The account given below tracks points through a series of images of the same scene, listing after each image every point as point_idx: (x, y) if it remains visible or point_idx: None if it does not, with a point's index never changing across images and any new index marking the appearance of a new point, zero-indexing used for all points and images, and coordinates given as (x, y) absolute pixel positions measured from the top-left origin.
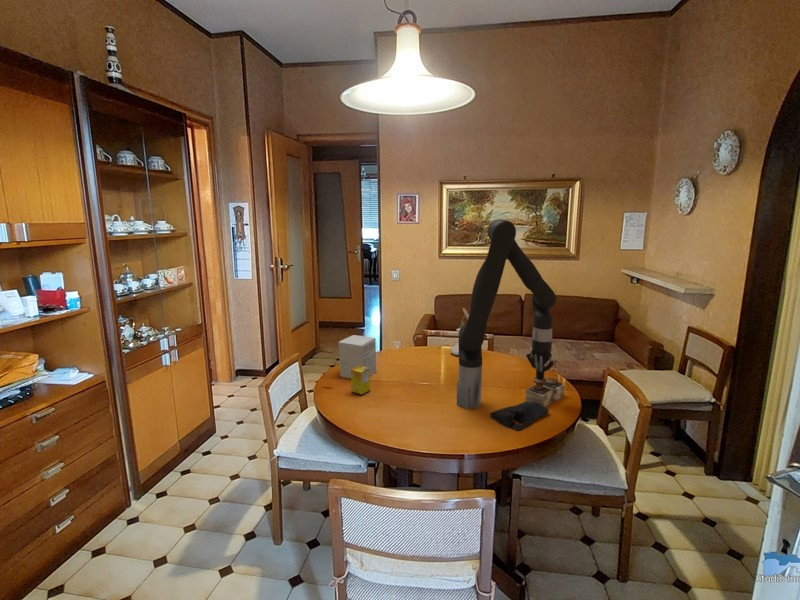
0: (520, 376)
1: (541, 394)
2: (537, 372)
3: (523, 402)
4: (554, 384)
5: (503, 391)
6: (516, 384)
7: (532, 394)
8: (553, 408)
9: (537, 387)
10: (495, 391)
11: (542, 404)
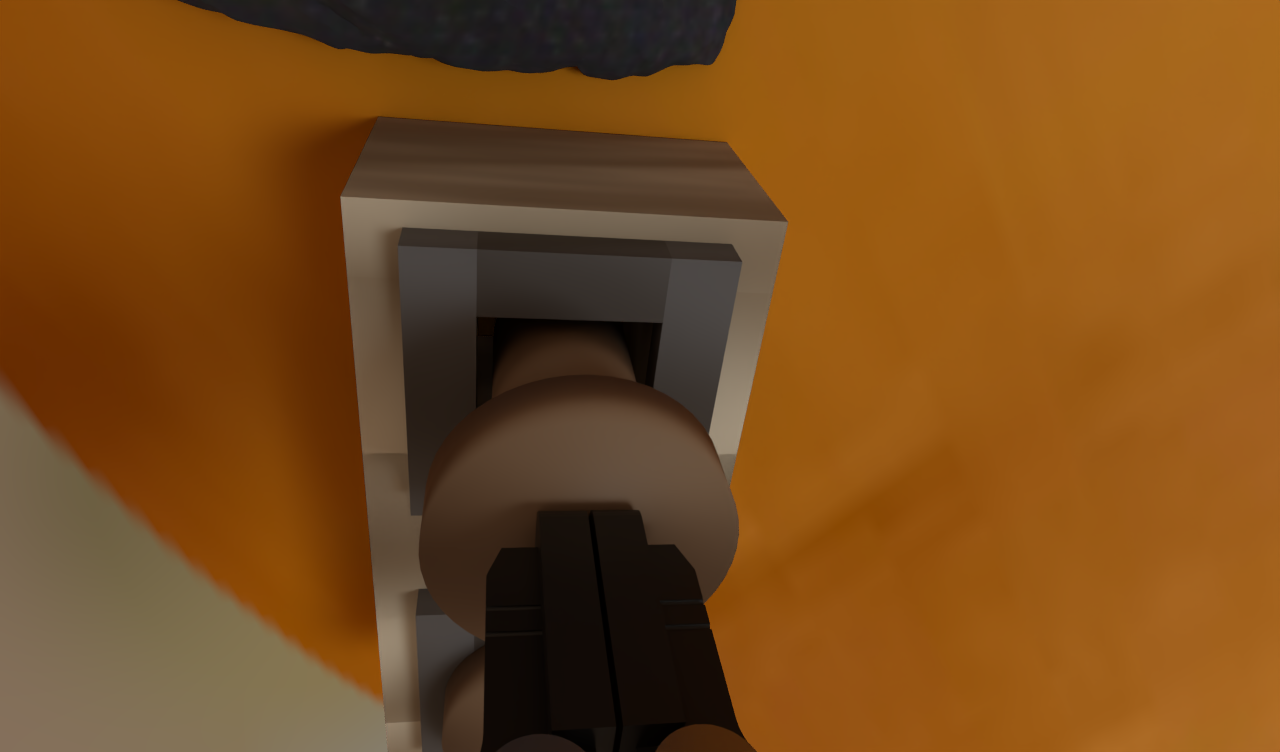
0: (1038, 670)
1: (406, 232)
2: (661, 665)
3: (710, 23)
4: (457, 673)
5: (1137, 209)
6: (1024, 501)
7: (612, 192)
8: (240, 223)
9: (573, 357)
10: (1258, 120)
11: (372, 134)
